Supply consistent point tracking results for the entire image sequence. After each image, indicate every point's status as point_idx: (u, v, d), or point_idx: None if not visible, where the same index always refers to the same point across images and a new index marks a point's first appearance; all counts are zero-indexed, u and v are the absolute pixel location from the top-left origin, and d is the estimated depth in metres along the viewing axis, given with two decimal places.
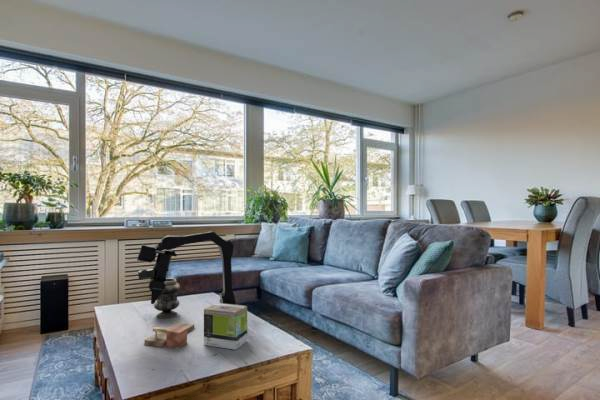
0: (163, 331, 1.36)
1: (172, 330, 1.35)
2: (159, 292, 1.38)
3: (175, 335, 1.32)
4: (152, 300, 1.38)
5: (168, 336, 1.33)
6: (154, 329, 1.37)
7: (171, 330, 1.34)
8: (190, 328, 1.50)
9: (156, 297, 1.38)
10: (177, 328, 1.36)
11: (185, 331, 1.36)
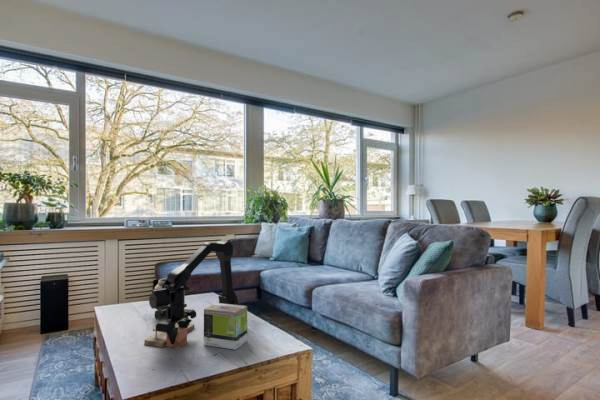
0: None
1: None
2: (173, 332, 1.31)
3: None
4: (171, 340, 1.32)
5: None
6: (154, 329, 1.37)
7: None
8: (190, 328, 1.50)
9: (172, 337, 1.31)
10: None
11: (185, 331, 1.36)
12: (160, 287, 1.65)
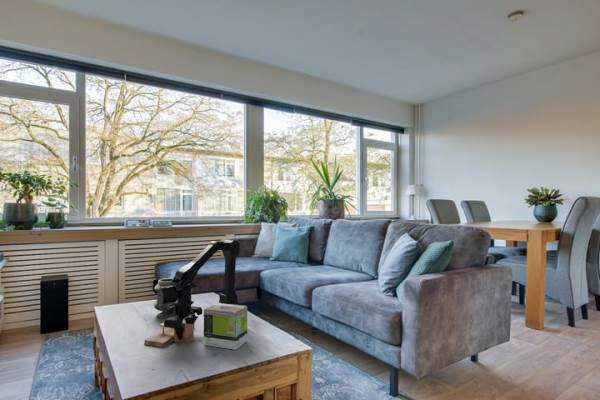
0: None
1: None
2: (180, 328, 1.35)
3: None
4: (178, 336, 1.36)
5: (175, 331, 1.38)
6: (161, 325, 1.42)
7: None
8: None
9: (180, 333, 1.36)
10: None
11: (192, 327, 1.40)
12: None
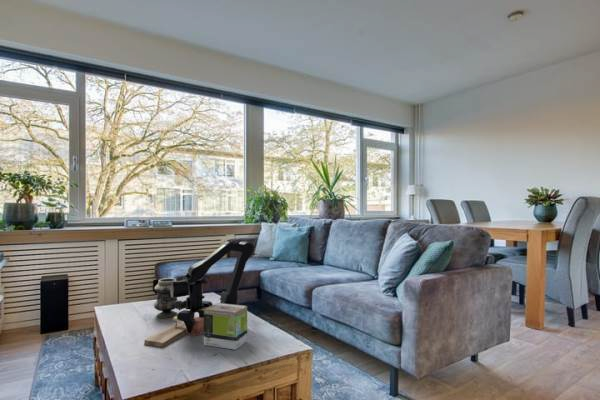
0: None
1: None
2: (190, 322, 1.41)
3: (194, 324, 1.45)
4: (188, 330, 1.43)
5: None
6: (174, 318, 1.50)
7: None
8: None
9: (190, 327, 1.42)
10: (196, 317, 1.49)
11: (203, 320, 1.48)
12: (160, 287, 1.65)
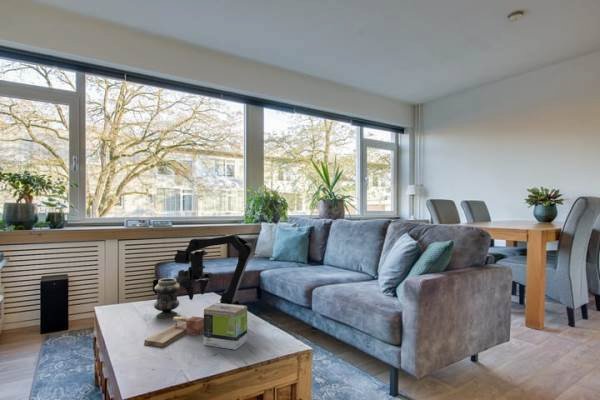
0: (183, 320, 1.49)
1: (191, 319, 1.47)
2: (191, 289, 1.54)
3: (194, 324, 1.45)
4: (189, 296, 1.55)
5: (188, 325, 1.46)
6: (174, 318, 1.50)
7: (190, 319, 1.47)
8: None
9: (191, 294, 1.54)
10: (195, 317, 1.49)
11: (203, 320, 1.48)
12: (160, 287, 1.65)
